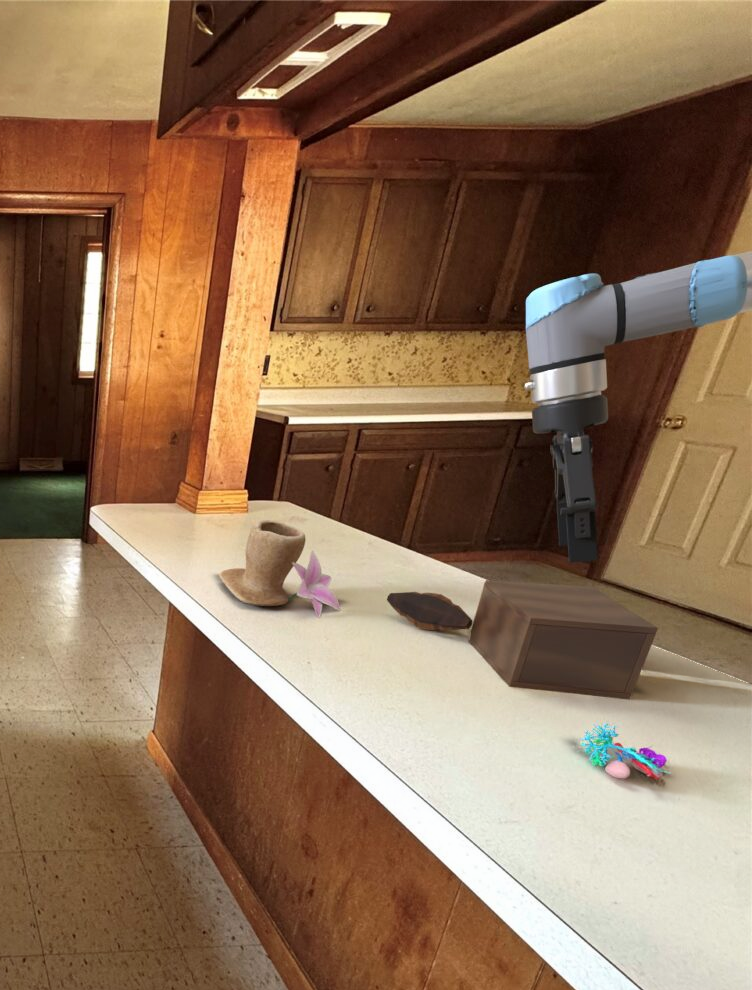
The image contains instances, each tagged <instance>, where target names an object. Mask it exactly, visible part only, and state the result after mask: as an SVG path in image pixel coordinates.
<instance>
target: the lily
mask: <svg viewBox="0 0 752 990" xmlns="http://www.w3.org/2000/svg"><path fill="white" fill-rule="evenodd" d="M292 564H293V568H294V570H295V571H296V573H297V574H298V576H299V577H300V580H301V583H300V584H299V587H298V589H297V591H296V592H295V593H294V594H293V595H292V596H291V597H290V598H288V601H289V602H291V600H292V599H294V597H296V596H298V597H300V598H305V599H310V600H311V603H312V606H313V608H314V612H315V614H316V617H317V618H318V617H319V618H320V616H321V614H322V610H323V604H325V605H327V606H329V607H331V608H334V609H336V610H338V611H341V610H342V608H341V605H340V603H339V600H338V598H337V596H336V594H335V593H334V592H333V591H332V589H331V588H329V587H330V585H331V583H332V576H330V575H329V574H325V573H322V566H321V563H320V560H319V558H318V556H317V554H316V552H315V551H314V550H311V551H310V556H309V561H308V564H307V566H306V567H304V566H303V565H301V564H300V563H298V562H296V563H294V562H292Z"/></svg>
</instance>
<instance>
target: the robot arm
mask: <svg viewBox="0 0 752 990" xmlns="http://www.w3.org/2000/svg"><path fill="white" fill-rule="evenodd" d="M747 312H752V250H750V251H745V252H742V253H737V254H733V255H731V254H730V255H725V256H720V257H715V258H711V259H702V260H699V261H697V262H693V263H689V264H687V265H682V266H679V267H675V268H671V269H667V270H663V271H659V272H652V273H646V274H643V275H640V276H637V277H635V278H634V279H630V280H627V281H624V282H620V283H619V282H618V283H614V284H607V285H606V284H605V285H604V282H603V281H602V277H601V275H600V274H598V273H586V274H582V275H579V276H574V277H573V276H572V277H569V278H566V279H561V280H558V281H555V282H552V283H549V284H546V285H543V286H541V287H538V288H536V289H535V290H533V291H532V292H531V293H529V295H528V296H527V297H526V299H525V335H526V349H527V358H528V359H527V360H528V369H529V370H528V371H529V372H528V373H529V375H530V376H529V379H530V380H531V381H528V382H525V383H524V386H523V387H524V390H526V391H527V390H532V391H531V392H530V394H531V395H530V396H531V403H532V404H537V406H536V407H533V409H532V410H531V420H532V422H531V423H532V432H533V433H534V434H537V435H542V434H549V433H555V432H556V435H553V438H552V443H553V444H550V446H549V447H550V449H549V450H550V456H551V458H552V468H553V470H554V490H553V493H554V495H555V500H556V514H557V515H556V516H557V517H556V518H557V531H558V533H557V534H558V546H559V547H567V551H568V553H567V554H568V562H569V564H570V563H572V564H573V563H584V562H585V563H586V562H598V561H599V558H598V540H597V539H598V538H597V521H596V520H597V519H596V509H597V507H598V506H599V505H598V504H599V503H598V501H597V499H596V498H597V497H596V490H595V482H594V481H595V480H594V474H593V472H594V471H593V463H594V462H593V461H594V460H593V454H592V453H593V447H594V446H593V440H592V439H591V436H590V435H589V434H585V431H584V428H586V427H592V426H598V425H602V424H605V423H606V422H607V421H608V420H609V406H608V397H607V396H606V395H605V394H602V391H605V390H607V389H608V378H607V377H608V376H607V359H606V354H605V351H606V349H605V347H607V346H612V345H613V346H614V345H618V344H622V343H625V342H630V341H635V340H639V339H644V338H650V337H655V336H660V335H664V334H665V335H666V334H668V333H673V332H678V331H683V330H687V329H692V328H697V329H699V328H703V327H704V326H707V325H710V324H714V323H717V322H721V321H726V320H729V319H732V318H734V317H736V316H737V315H738V314H743V313H747Z"/></svg>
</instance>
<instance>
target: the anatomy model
mask: <svg viewBox="0 0 752 990" xmlns="http://www.w3.org/2000/svg"><path fill="white" fill-rule="evenodd" d="M601 725H602V726H601ZM611 727H612V725H609V723H608V722H606V724H603V723H600V725H599V724H594V727H592V728H591V730H592V732H593V733H592V734H591V733H590V732H589V730H586V731H584V734H585V736H584V737H583V738H581V737H580V738H579V740H581V741H580V746H581V747H585V749H584V751H583V753H584V754H586V755H589V754H590V755H589V761H591V765H592V766H594V767H598V766H600V767H604V769H605V770H604V771H605V772H606V773H607V774H608V775H609V776H611V777H614V778H616V779H627V778H629V777H630V775H631V769H630V767H629V766H628V764H627V763H629V764H630V766H632V767H633V768H634V769H635V770H637V771H638V772H640V773H642V774H645V775H646V777H647V778H651V777H652V778H654V779H655V780H656V781H660V778H661V777H662V776H663V772H664V773H666V774H670V771H669V772H668V771H665V770H663V769H662V768H663V767H664V766H665V765H666V763H667V757H666V756H665V755H663V754H661V753H656V751H655V750H653V749H651V748H649V747H641V748H639V749H638V751H637V749H636V747H635V748H634V747H633V746H632V747H630V746H628V747H624V746H623V745H622V743H620V742H615V743H614V744H613V739H614V738H617V737H618V736H619V733H617V732H616V728H619V726H616V725H613V729H608V728H611ZM594 734H595V735H594ZM583 741H588V742H589V743H585V742H583ZM609 748H611V749H616V750H617V751H618V752H617V751H614V754H615V755H617V759H614V757H615V755H613V756H611V755H610V754H608V749H609ZM601 754H602V756H601ZM611 759H614V760H611ZM625 759H627V762H624V761H623V760H625ZM609 760H610V761H609ZM606 762H608V763H606Z"/></svg>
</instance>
